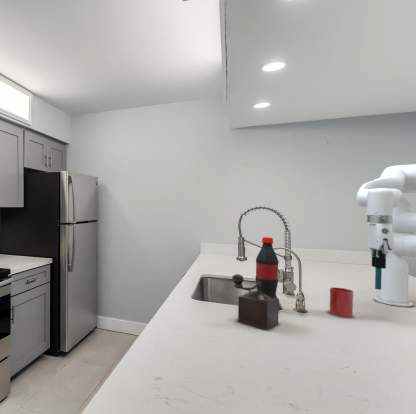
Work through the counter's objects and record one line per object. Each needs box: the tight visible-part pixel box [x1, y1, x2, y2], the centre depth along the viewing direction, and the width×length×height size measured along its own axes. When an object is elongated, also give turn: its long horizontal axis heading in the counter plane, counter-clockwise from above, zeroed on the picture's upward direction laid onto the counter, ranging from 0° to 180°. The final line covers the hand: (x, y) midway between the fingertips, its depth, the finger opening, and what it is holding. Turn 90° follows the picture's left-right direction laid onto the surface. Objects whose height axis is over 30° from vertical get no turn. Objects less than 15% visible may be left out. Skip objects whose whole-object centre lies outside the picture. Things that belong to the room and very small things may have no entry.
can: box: [329, 287, 354, 319], centre depth 126 cm, size 7×7×10 cm
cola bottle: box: [255, 236, 280, 298], centre depth 132 cm, size 8×8×30 cm
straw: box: [374, 267, 382, 291], centre depth 122 cm, size 2×2×14 cm
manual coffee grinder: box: [231, 273, 280, 331], centre depth 113 cm, size 16×11×18 cm
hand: (378, 267), depth 122 cm, fingers closed on straw, 1 cm apart
